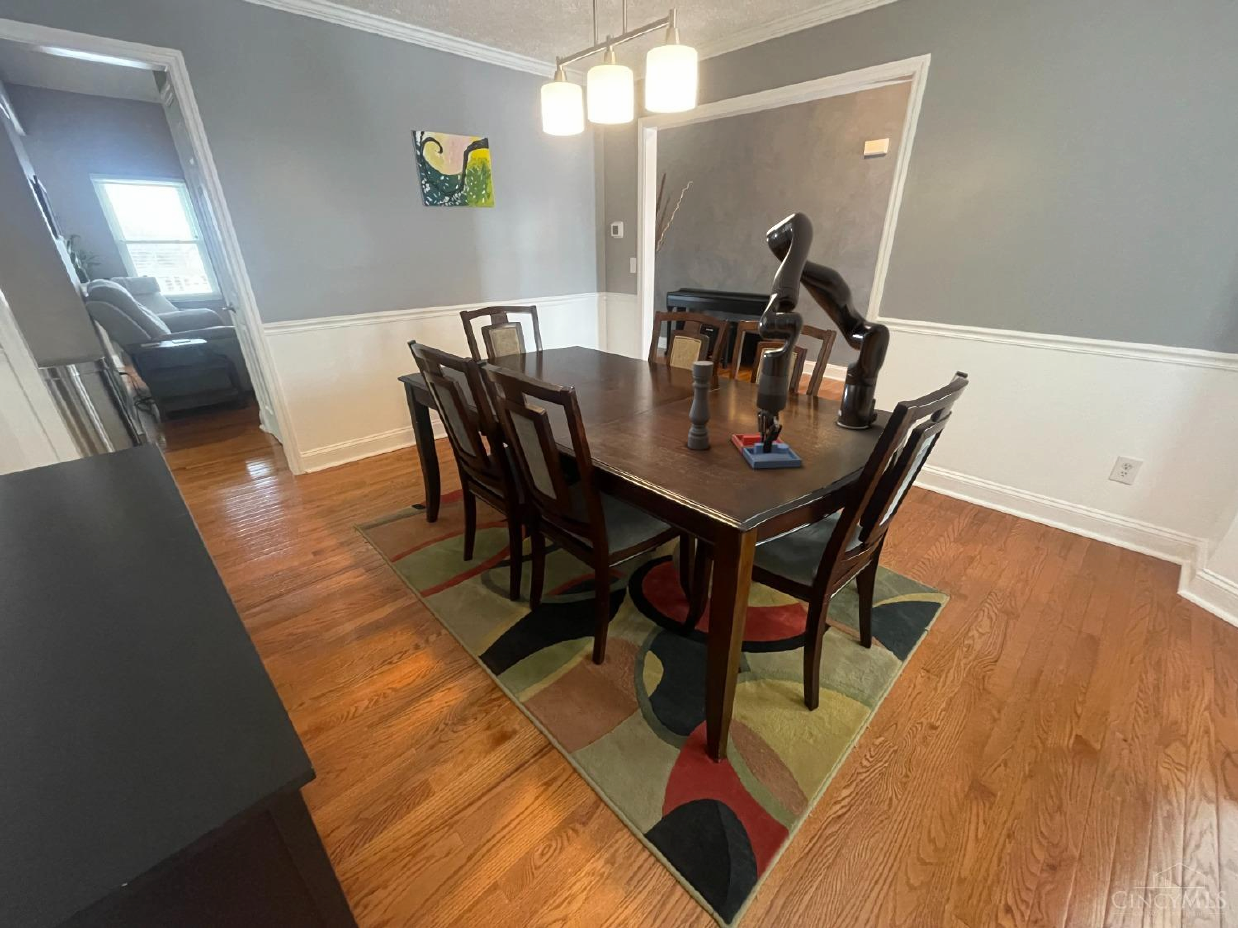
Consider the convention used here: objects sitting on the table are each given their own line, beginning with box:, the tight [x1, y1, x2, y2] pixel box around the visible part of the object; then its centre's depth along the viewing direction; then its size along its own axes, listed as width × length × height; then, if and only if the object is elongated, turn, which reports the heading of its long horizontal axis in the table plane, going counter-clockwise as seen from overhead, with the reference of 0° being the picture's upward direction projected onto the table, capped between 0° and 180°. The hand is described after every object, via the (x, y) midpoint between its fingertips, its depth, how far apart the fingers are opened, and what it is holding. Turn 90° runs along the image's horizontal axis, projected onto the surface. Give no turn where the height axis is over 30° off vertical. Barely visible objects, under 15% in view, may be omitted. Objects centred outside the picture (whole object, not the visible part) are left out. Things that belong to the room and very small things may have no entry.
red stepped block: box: [742, 435, 774, 446], centre depth 147 cm, size 9×4×3 cm, turn 93°
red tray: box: [731, 433, 786, 454], centre depth 147 cm, size 13×10×2 cm
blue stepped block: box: [754, 442, 790, 454], centre depth 136 cm, size 9×4×3 cm, turn 93°
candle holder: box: [687, 360, 714, 451], centre depth 143 cm, size 6×6×25 cm
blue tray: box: [741, 447, 803, 469], centre depth 137 cm, size 13×10×2 cm
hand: (765, 450), depth 136 cm, fingers closed on blue stepped block, 2 cm apart
